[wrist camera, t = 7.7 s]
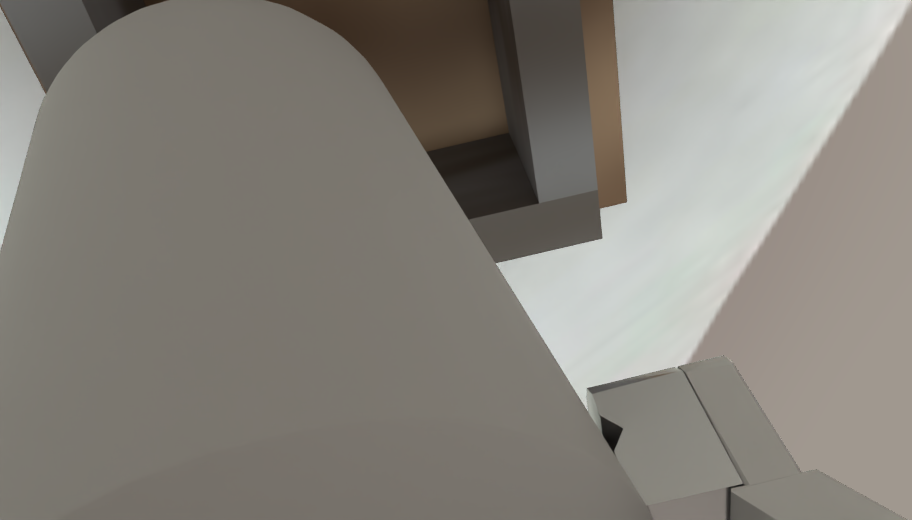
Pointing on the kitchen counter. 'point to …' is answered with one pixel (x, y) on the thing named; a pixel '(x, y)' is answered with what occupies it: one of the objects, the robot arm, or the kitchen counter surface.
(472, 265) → the beverage can
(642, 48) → the kitchen counter surface
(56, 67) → the collar plate
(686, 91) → the kitchen counter surface
